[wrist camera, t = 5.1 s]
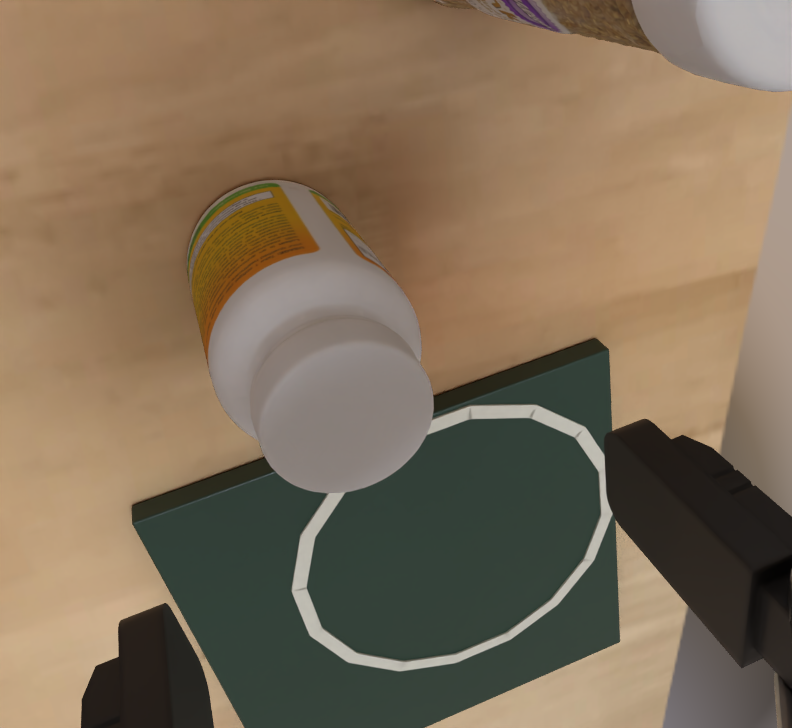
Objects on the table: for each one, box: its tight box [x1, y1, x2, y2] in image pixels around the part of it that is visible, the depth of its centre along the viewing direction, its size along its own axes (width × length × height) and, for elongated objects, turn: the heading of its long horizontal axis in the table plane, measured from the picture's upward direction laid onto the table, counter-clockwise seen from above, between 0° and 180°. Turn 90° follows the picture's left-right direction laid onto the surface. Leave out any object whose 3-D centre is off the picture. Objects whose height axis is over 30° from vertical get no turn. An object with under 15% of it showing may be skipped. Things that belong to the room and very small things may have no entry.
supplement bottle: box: [187, 180, 434, 493], centre depth 20 cm, size 5×5×10 cm
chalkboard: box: [132, 339, 620, 728], centre depth 34 cm, size 19×19×1 cm
